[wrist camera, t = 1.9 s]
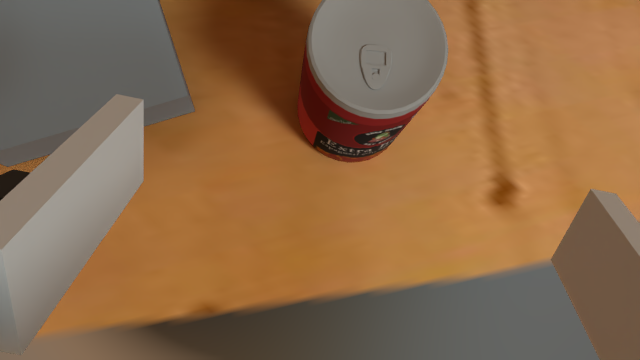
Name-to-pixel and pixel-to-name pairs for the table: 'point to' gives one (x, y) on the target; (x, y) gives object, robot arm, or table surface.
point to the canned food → (368, 73)
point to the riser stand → (81, 68)
